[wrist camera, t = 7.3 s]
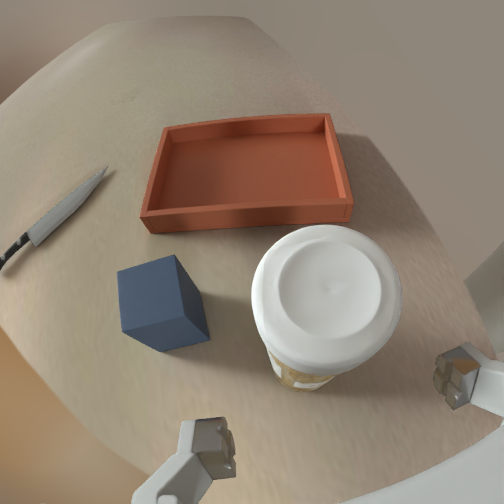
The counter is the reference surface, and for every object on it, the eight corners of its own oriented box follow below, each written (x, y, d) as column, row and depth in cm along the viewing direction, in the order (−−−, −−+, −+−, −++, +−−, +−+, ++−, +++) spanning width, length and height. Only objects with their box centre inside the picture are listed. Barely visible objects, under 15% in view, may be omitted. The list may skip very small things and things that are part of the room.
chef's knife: (119, 180, 31) (109, 167, 32) (115, 173, 30) (105, 160, 31) (-1, 288, 26) (-6, 270, 27) (-7, 284, 25) (-11, 266, 26)
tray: (328, 132, 31) (329, 113, 28) (349, 222, 25) (354, 203, 23) (170, 144, 32) (163, 127, 30) (150, 233, 27) (139, 217, 24)
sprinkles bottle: (322, 400, 19) (382, 389, 7) (260, 378, 20) (221, 333, 8) (345, 339, 20) (417, 244, 9) (285, 319, 22) (282, 202, 10)
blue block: (199, 290, 23) (174, 253, 18) (210, 340, 21) (185, 316, 16) (152, 303, 23) (116, 271, 18) (159, 352, 21) (121, 332, 16)
